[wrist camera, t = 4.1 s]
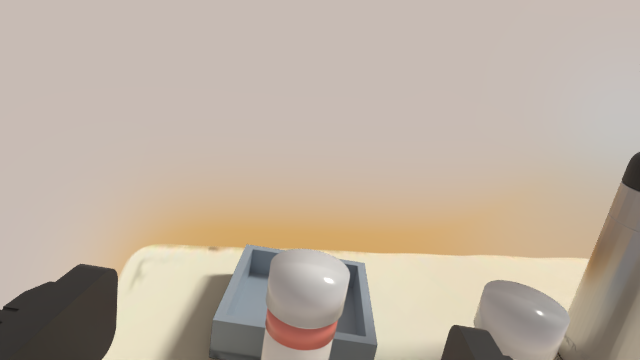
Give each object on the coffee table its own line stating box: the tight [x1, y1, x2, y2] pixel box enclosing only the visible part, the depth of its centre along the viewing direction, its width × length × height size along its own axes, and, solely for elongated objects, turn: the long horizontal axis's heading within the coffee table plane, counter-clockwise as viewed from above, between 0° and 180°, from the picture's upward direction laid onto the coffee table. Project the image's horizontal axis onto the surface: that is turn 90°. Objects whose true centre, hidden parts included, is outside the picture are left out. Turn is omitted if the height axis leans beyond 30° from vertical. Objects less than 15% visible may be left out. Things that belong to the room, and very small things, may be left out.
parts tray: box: [209, 245, 377, 360], centre depth 37 cm, size 13×13×4 cm
